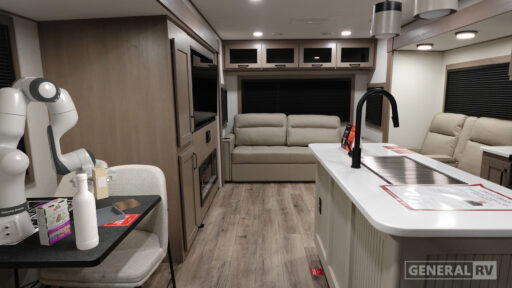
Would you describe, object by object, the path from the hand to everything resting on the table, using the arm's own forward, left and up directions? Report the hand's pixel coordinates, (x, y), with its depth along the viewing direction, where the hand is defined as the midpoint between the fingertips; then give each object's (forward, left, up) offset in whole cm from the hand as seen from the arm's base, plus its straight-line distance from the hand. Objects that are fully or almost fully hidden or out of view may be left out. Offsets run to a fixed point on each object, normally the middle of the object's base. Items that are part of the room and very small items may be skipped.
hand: (100, 182), depth 138 cm
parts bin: (0, +1, -19) cm, 19 cm away
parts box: (0, +1, -8) cm, 8 cm away
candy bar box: (-21, -6, -20) cm, 29 cm away
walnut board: (+15, +11, -19) cm, 27 cm away
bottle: (-13, -21, -19) cm, 31 cm away
